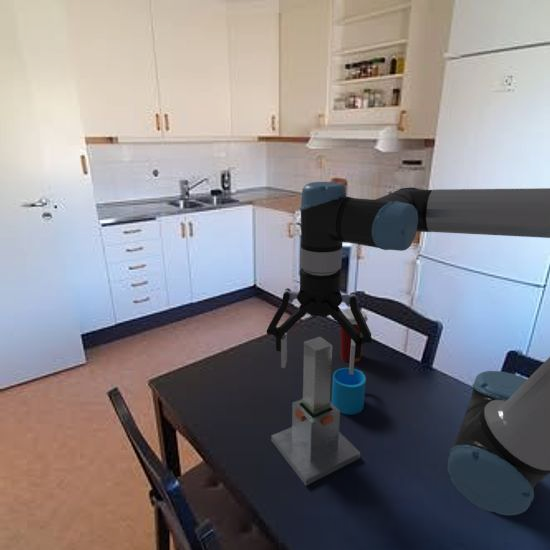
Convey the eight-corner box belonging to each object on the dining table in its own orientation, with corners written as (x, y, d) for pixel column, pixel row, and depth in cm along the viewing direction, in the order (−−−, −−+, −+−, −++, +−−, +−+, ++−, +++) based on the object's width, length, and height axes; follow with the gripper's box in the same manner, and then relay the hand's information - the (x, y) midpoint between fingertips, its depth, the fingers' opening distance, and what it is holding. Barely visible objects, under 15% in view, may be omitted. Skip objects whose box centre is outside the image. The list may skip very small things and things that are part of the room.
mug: (353, 419, 97) (355, 391, 94) (325, 405, 102) (326, 378, 100) (376, 395, 106) (379, 369, 103) (350, 383, 111) (351, 358, 108)
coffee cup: (366, 364, 119) (370, 319, 114) (339, 364, 119) (341, 319, 114) (361, 350, 127) (364, 307, 122) (335, 350, 127) (337, 307, 122)
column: (329, 423, 85) (333, 345, 78) (312, 430, 83) (315, 351, 76) (317, 411, 88) (320, 336, 82) (301, 418, 86) (302, 341, 80)
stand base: (360, 458, 86) (363, 414, 82) (305, 485, 80) (306, 439, 75) (321, 419, 97) (323, 378, 93) (271, 440, 91) (270, 398, 87)
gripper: (388, 265, 75) (379, 362, 82) (258, 259, 79) (260, 352, 87) (392, 279, 68) (381, 384, 75) (249, 272, 72) (252, 371, 80)
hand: (317, 367), depth 81 cm, fingers open, 13 cm apart
